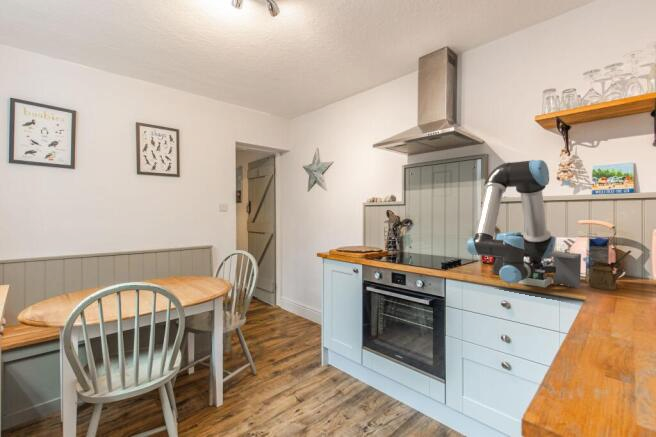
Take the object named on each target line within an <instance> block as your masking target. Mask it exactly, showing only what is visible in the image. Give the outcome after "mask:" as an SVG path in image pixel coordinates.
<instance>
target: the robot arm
mask: <svg viewBox="0 0 656 437" xmlns="http://www.w3.org/2000/svg"><path fill="white" fill-rule="evenodd" d="M549 183H550V171H549V167H548V164H547V163H546V162H545V161H544V160H542V159H536V160H535V159H531V160H524V161H523V160H522V161H514V162H504V163H502V164H500V165H498V166H497V167H495V168H494V169H493V170H491V172H490V173H489V174H488V176H487V177H486V179H485V182H484V184H483V190H484V194H483V199H482V204H481V206H480V207H481V208H480V212H479V217H478V222H477V225H476V230H475V234H474V237H470V238H468V239H467V242H466V250H467V252H468V253H469V254H471V255H475V256H484V257H494V258H495V260H494V263H493V265H492V268H491V273H492V274H494V275H498V276H499V278H500V279H501V281H503V282H504V283H506V284H517V283H519V281H521V280H524V279H527V278H529V277H531V276H532V275H533V274H534V273H538V272H540V273H541V274H544V275H546V274H553V273H556V267H553V263H550V264H547V265H544V266H537V265H531V264H530V263H529V262H528V261H527V260H525V258H529V257H540V258H541V260H542V259H544V260H545V259H547V260H549V259H551V258H553V256H547V253H551V252H555V246H556V237H555V236H553V235H552V234H551V232H550V231H549V230H548V229H547V225H546V224H547V223H546V215H545V206H544V197H543V191H544V190H545V188H546V186H547V185H549ZM511 187H512V188H513V187H515V191H516V192H517V193H519V194H520V199H521V200H520V201H521V207H522V212H523V213H522V214H523V219H524V227H525V231H524V232H523V234H522V233H521V231H512V232H511V231H510V232H500V233H497V234H496V239H494V236H495V232H496V227H497V222H498V216H499V213H500V209H501V202H502V199H503V194H504V193H506V191H507V188H511Z"/></svg>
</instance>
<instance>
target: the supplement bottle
mask: <svg viewBox="0 0 656 437" xmlns="http://www.w3.org/2000/svg"><path fill="white" fill-rule="evenodd" d="M528 261H529V262H528V263H530V264H531V265H537V266H545V265H544V264H543V263H542V259H541V258H540V257H528ZM544 277H545V274H541V273H540V272H538V273H534V274H533V275H532V276H531V277H529V278H532V279H538V280H544Z"/></svg>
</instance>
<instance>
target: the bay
mask: <svg viewBox="0 0 656 437" xmlns="http://www.w3.org/2000/svg"><path fill="white" fill-rule="evenodd" d="M547 256H552V257H553V263H552V264H553V267H556V273H552V284H553V283H554V284H553V285H557V284H563V285H569V286H568V287H570V286H573V287H572V288H576V287H578V288H577V289H580V288H581V274H582V273H581V270H582V267H581V265H582V254H581V253H576V252H575V253H574V252H563V251H554V252H551V253H547ZM563 285H562V286H563Z"/></svg>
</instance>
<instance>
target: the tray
mask: <svg viewBox="0 0 656 437" xmlns="http://www.w3.org/2000/svg"><path fill="white" fill-rule="evenodd" d="M518 284H521V285H522V284H523V285H525V286H526V285H527V286H533V287H540V288H547V287H548V285H549V286H551V285H553V277H549V276H544V280H538V279H532V278H527V279H524V280H521V281H519V282H518ZM550 284H551V285H550Z"/></svg>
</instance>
